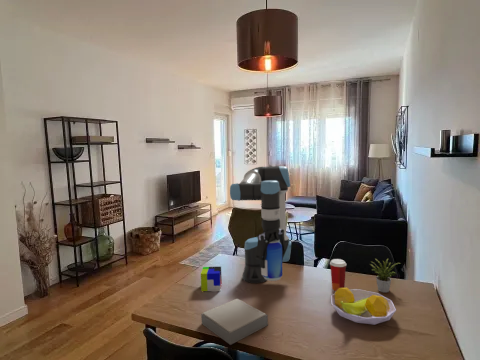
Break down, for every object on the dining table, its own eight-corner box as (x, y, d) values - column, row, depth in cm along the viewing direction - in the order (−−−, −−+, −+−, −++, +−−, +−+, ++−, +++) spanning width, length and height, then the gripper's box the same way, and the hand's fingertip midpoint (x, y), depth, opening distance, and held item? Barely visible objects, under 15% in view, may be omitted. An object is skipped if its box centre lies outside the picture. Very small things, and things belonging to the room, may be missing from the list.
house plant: (394, 284, 166) (395, 254, 165) (405, 296, 153) (406, 263, 151) (367, 283, 168) (367, 254, 166) (375, 295, 154) (376, 263, 153)
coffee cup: (344, 286, 166) (344, 258, 165) (348, 292, 158) (348, 264, 157) (328, 285, 167) (328, 258, 166) (331, 292, 159) (331, 264, 157)
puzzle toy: (220, 291, 164) (219, 273, 163) (201, 292, 164) (200, 273, 163) (221, 283, 174) (221, 266, 173) (203, 284, 174) (203, 266, 173)
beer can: (266, 283, 124) (265, 243, 122) (259, 275, 132) (258, 238, 130) (285, 279, 126) (285, 241, 125) (277, 272, 134) (276, 236, 133)
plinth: (237, 308, 146) (237, 297, 146) (267, 325, 131) (267, 313, 130) (201, 323, 133) (201, 312, 133) (230, 345, 118) (230, 332, 117)
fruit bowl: (362, 296, 154) (362, 274, 153) (410, 323, 128) (410, 297, 128) (314, 308, 144) (314, 284, 143) (356, 340, 118) (356, 311, 118)
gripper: (259, 224, 117) (260, 282, 119) (294, 215, 131) (295, 267, 133) (245, 221, 122) (247, 277, 124) (280, 213, 136) (281, 263, 138)
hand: (272, 272), depth 129 cm, fingers closed on beer can, 8 cm apart
